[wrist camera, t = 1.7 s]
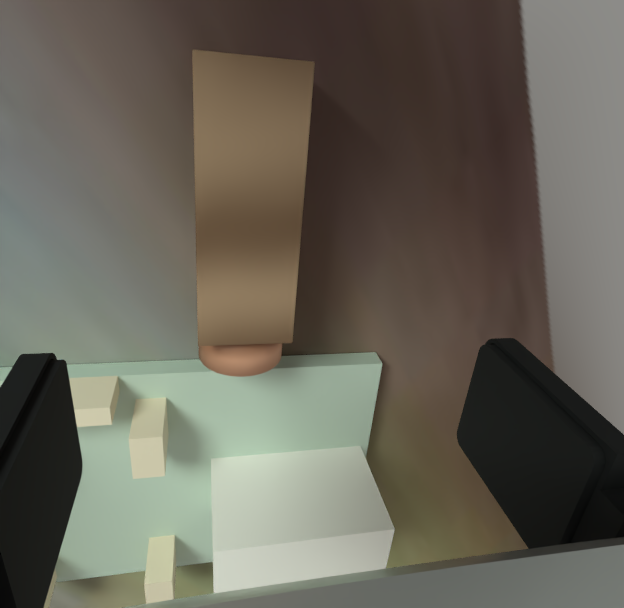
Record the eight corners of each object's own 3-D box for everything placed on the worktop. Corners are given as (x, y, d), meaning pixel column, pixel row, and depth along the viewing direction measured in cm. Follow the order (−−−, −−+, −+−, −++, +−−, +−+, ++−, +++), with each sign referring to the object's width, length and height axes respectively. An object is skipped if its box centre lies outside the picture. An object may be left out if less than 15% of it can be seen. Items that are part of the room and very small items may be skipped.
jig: (-103, 371, 23) (-160, 431, 19) (375, 352, 28) (401, 396, 24) (-31, 575, 29) (-63, 649, 26) (346, 528, 35) (363, 584, 31)
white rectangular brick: (210, 458, 28) (213, 551, 22) (360, 445, 30) (394, 529, 24) (211, 507, 29) (214, 605, 24) (352, 492, 31) (383, 579, 26)
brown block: (193, 51, 20) (192, 49, 15) (290, 60, 21) (314, 61, 16) (198, 329, 25) (198, 385, 21) (274, 327, 26) (289, 381, 22)
